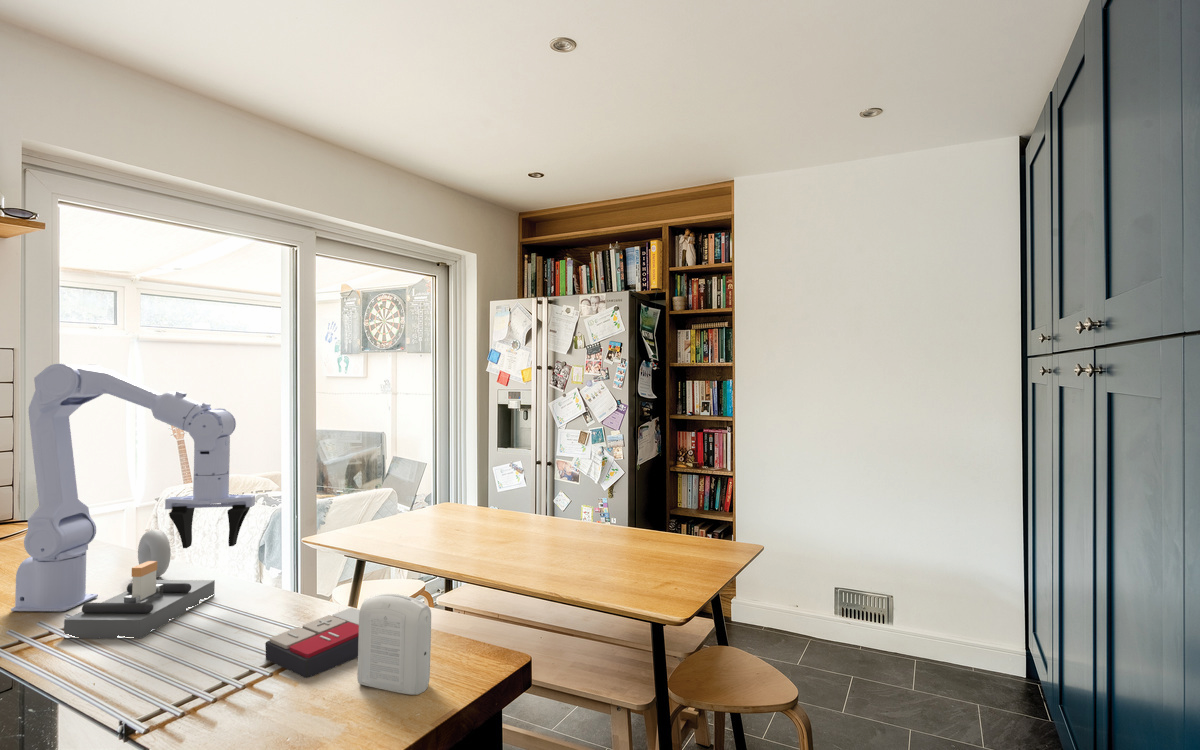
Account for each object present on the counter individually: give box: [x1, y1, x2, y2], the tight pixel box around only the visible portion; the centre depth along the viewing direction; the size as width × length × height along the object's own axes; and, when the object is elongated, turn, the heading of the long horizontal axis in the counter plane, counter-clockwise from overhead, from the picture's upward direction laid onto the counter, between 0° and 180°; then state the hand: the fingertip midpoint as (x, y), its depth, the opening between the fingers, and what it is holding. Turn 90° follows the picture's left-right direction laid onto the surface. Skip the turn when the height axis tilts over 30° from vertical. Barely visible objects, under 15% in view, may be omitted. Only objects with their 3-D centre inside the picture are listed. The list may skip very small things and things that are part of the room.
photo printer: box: [356, 593, 432, 696], centre depth 86 cm, size 10×4×12 cm, turn 72°
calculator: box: [264, 607, 360, 679], centre depth 97 cm, size 11×4×15 cm
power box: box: [63, 579, 216, 640], centre depth 110 cm, size 12×20×5 cm, turn 1°
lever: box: [131, 561, 157, 602], centre depth 108 cm, size 2×4×6 cm, turn 1°
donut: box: [137, 528, 172, 579], centre depth 131 cm, size 10×4×10 cm, turn 55°
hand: (210, 546), depth 118 cm, fingers open, 7 cm apart
